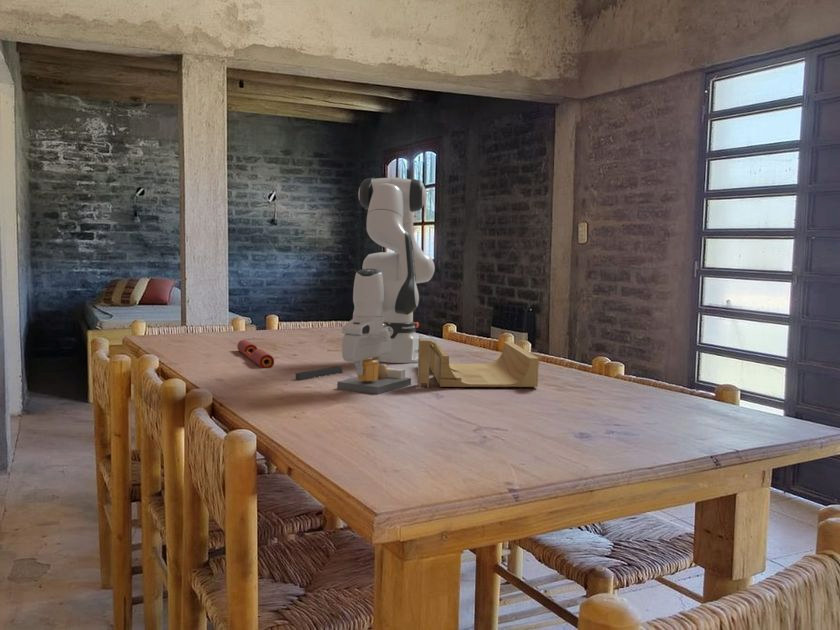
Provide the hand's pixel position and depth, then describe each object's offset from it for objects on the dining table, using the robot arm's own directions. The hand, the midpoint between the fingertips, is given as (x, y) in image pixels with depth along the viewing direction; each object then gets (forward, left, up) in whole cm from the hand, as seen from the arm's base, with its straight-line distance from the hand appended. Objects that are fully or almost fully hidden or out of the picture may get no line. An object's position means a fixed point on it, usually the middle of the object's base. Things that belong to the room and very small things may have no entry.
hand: (367, 373), depth 213 cm
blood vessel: (-23, -64, -5) cm, 68 cm away
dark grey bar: (-10, -19, -3) cm, 22 cm away
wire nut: (0, 0, -2) cm, 2 cm away
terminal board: (-4, 0, -4) cm, 6 cm away
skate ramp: (-36, +15, -5) cm, 40 cm away
